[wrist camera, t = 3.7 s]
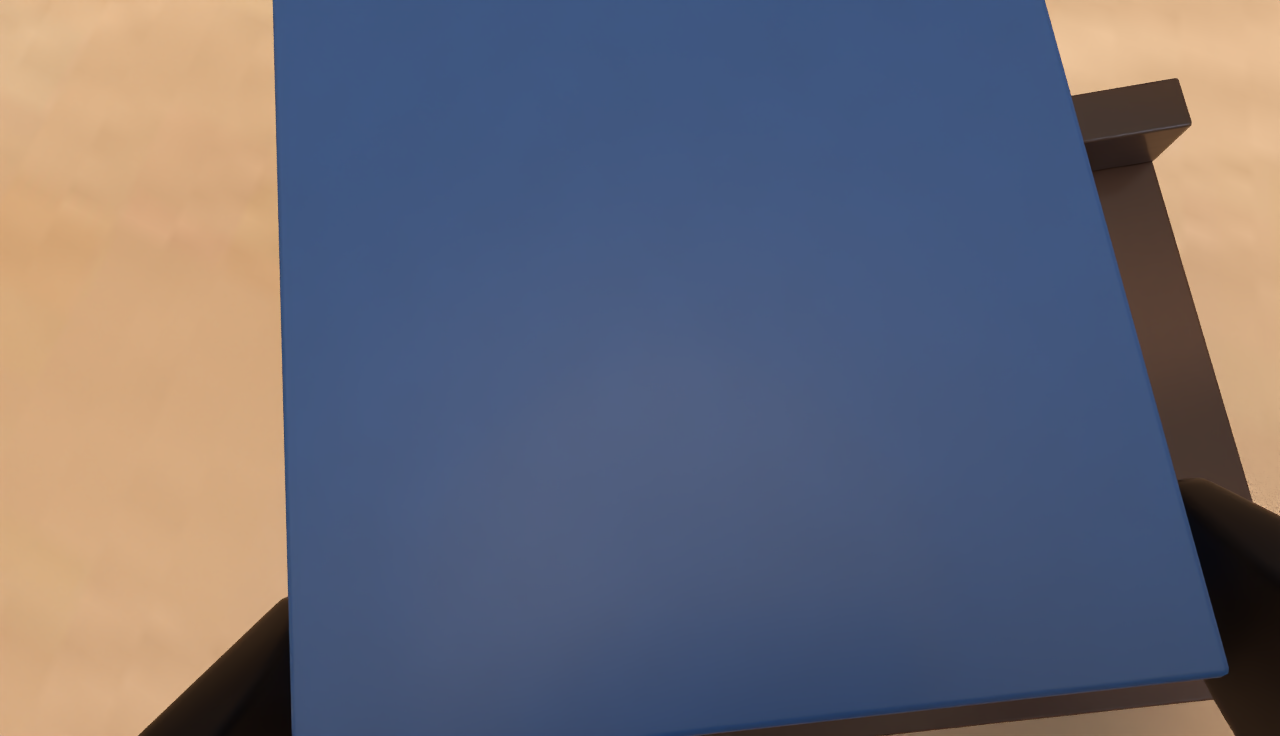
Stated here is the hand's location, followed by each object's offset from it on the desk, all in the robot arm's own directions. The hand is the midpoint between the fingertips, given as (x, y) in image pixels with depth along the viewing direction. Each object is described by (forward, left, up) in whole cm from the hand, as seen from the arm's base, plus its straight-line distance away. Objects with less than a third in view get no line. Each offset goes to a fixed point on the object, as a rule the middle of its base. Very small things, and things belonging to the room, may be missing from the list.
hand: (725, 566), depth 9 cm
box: (+2, -1, -7) cm, 7 cm away
